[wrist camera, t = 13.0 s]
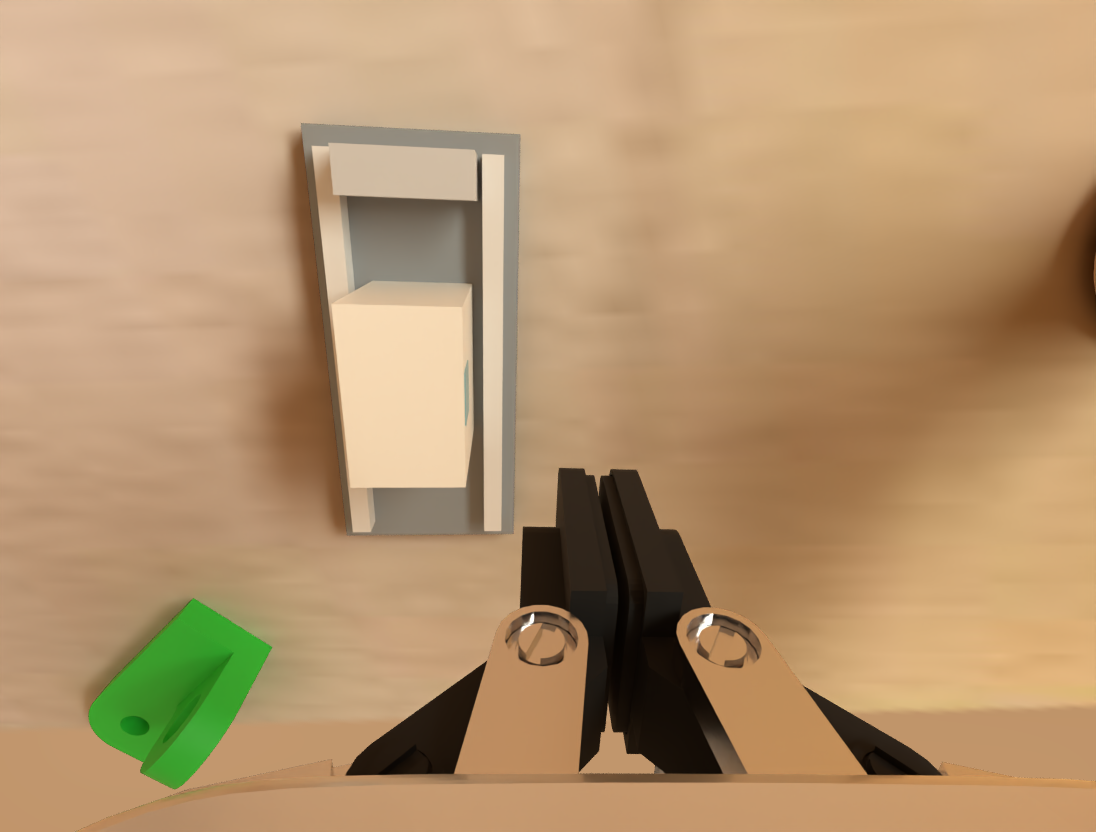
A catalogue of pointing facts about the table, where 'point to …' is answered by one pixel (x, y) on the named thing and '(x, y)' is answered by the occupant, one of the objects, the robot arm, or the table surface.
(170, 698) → the mechanical part
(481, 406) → the rail plate
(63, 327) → the table surface
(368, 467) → the block
